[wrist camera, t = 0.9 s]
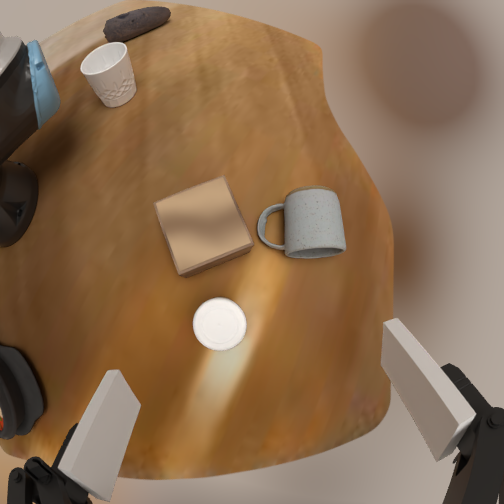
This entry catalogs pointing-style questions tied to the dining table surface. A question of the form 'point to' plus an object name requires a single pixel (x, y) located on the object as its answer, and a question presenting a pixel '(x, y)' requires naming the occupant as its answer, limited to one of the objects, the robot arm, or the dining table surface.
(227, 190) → the tan block
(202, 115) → the dining table surface
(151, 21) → the perforated stone tool
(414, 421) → the robot arm
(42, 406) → the black fedora hat
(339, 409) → the dining table surface
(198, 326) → the sprinkles bottle
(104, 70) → the white cup
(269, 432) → the dining table surface
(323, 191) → the ceramic mug
